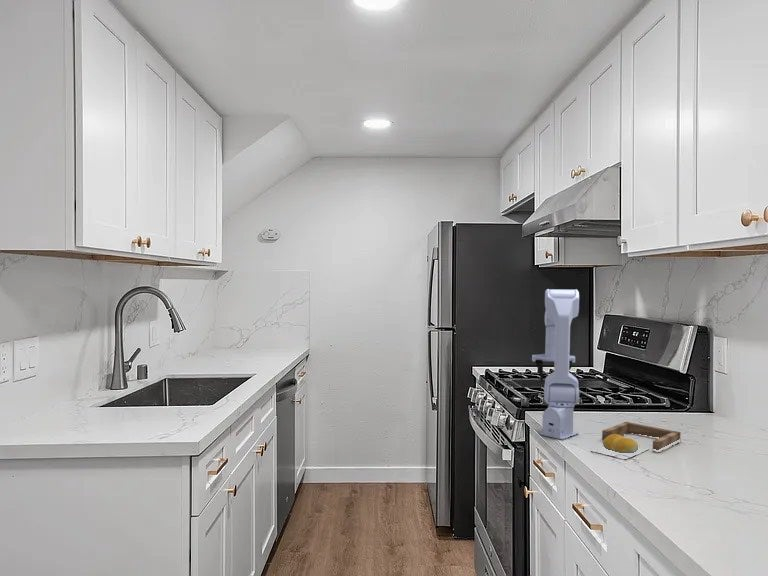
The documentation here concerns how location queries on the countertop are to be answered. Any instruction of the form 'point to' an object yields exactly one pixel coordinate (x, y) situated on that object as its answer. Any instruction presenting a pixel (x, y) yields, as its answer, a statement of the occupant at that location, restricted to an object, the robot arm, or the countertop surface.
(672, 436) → the frame
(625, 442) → the bread roll
